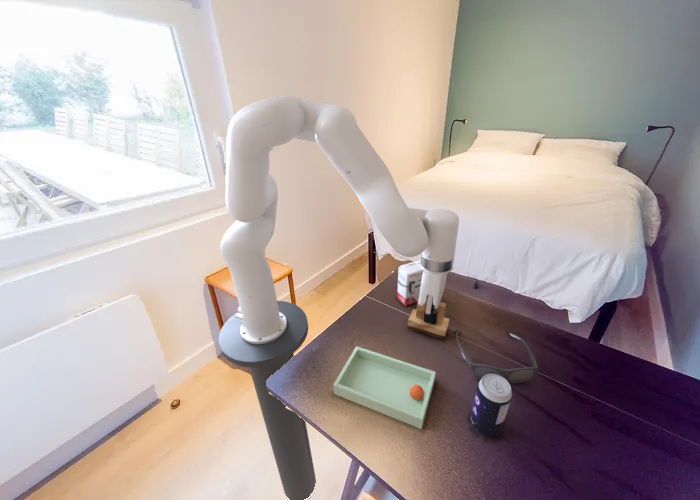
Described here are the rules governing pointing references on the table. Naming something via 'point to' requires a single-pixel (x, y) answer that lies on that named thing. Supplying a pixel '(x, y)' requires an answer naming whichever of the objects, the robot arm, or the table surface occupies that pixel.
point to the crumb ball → (416, 392)
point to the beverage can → (491, 404)
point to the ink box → (409, 282)
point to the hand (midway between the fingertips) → (430, 319)
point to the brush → (426, 328)
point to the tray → (385, 385)
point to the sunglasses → (513, 374)
